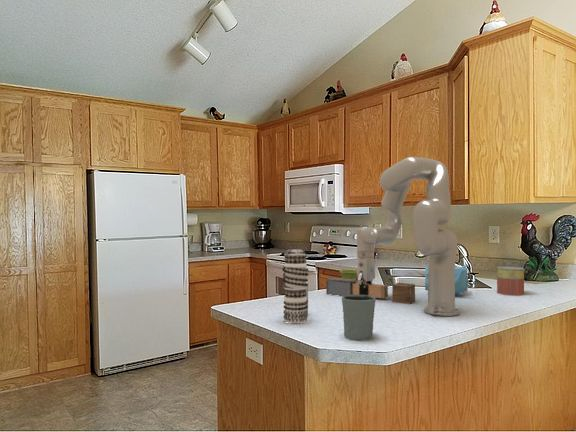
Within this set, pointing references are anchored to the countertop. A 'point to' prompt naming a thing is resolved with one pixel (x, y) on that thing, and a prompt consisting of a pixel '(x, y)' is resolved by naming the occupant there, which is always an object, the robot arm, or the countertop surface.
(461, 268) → the teakettle
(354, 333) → the grey green cup
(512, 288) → the canned food
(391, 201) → the robot arm
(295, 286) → the decorative candle
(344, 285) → the grey rectangular block
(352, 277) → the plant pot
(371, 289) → the light brown wooden bar
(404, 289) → the walnut socket
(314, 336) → the countertop surface
